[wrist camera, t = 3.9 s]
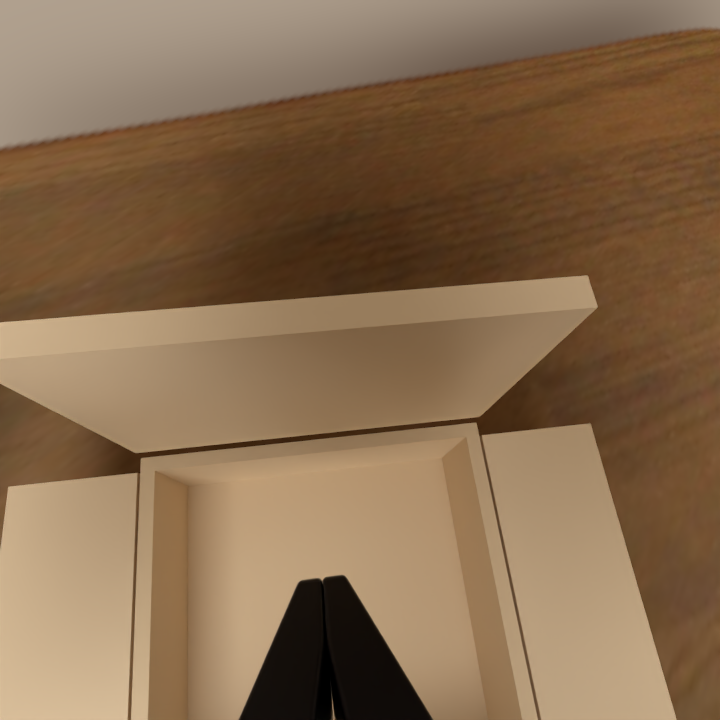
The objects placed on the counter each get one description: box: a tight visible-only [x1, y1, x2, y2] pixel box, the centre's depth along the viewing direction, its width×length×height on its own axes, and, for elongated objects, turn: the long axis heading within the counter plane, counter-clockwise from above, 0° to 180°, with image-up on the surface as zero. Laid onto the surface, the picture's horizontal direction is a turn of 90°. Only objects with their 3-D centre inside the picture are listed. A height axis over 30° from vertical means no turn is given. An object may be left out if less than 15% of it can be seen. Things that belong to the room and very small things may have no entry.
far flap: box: [0, 275, 598, 453], centre depth 11 cm, size 1×10×7 cm, turn 97°
